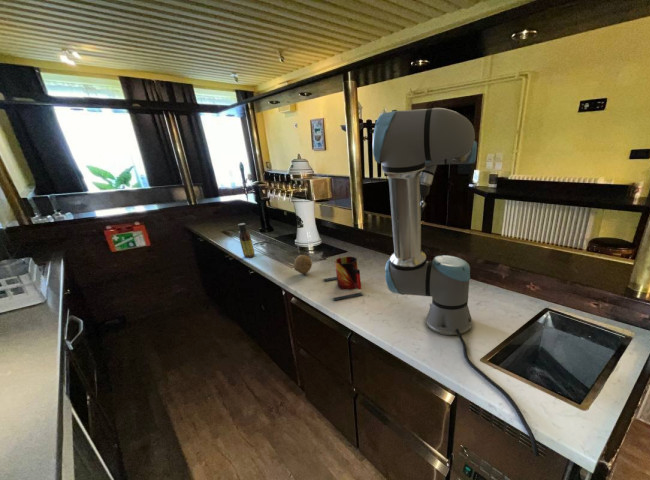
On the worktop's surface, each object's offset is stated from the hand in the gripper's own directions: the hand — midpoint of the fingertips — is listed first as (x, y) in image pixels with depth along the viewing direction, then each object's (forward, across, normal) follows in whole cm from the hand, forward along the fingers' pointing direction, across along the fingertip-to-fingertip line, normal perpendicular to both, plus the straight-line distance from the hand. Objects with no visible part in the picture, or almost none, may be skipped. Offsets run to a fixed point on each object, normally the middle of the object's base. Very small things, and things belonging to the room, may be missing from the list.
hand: (405, 239), depth 131 cm
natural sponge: (+32, +33, +33) cm, 56 cm away
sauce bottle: (+39, +79, +57) cm, 105 cm away
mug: (+27, +8, +16) cm, 32 cm away
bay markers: (+28, +8, +20) cm, 35 cm away
